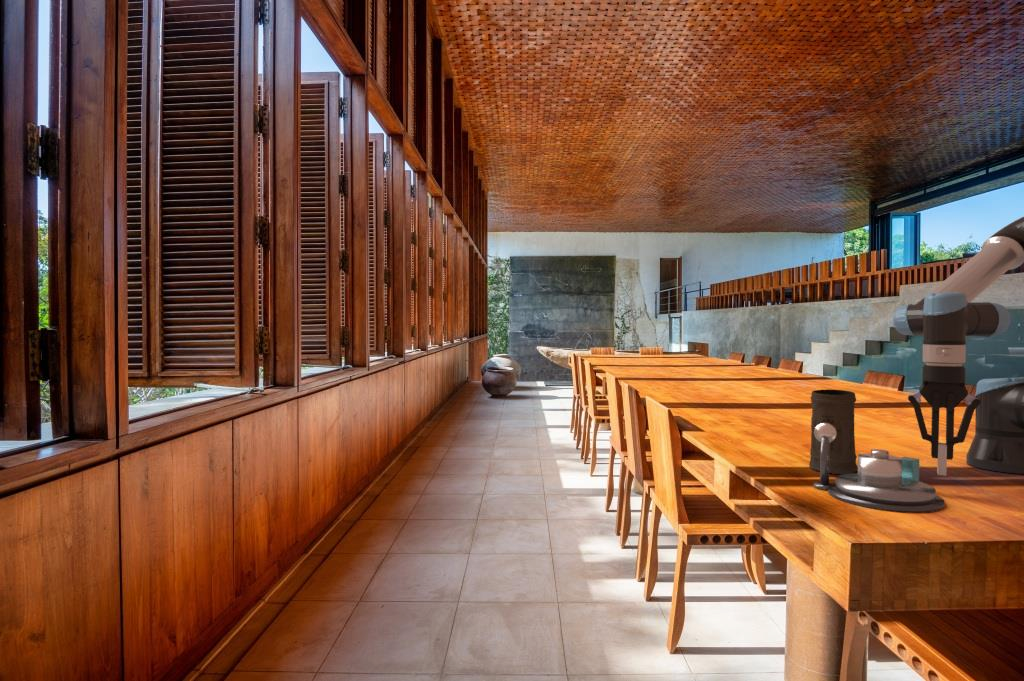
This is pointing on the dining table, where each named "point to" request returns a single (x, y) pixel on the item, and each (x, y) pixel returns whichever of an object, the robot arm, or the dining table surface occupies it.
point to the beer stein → (840, 414)
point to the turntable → (904, 496)
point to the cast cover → (880, 470)
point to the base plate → (924, 508)
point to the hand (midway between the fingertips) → (941, 473)
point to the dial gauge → (824, 453)
